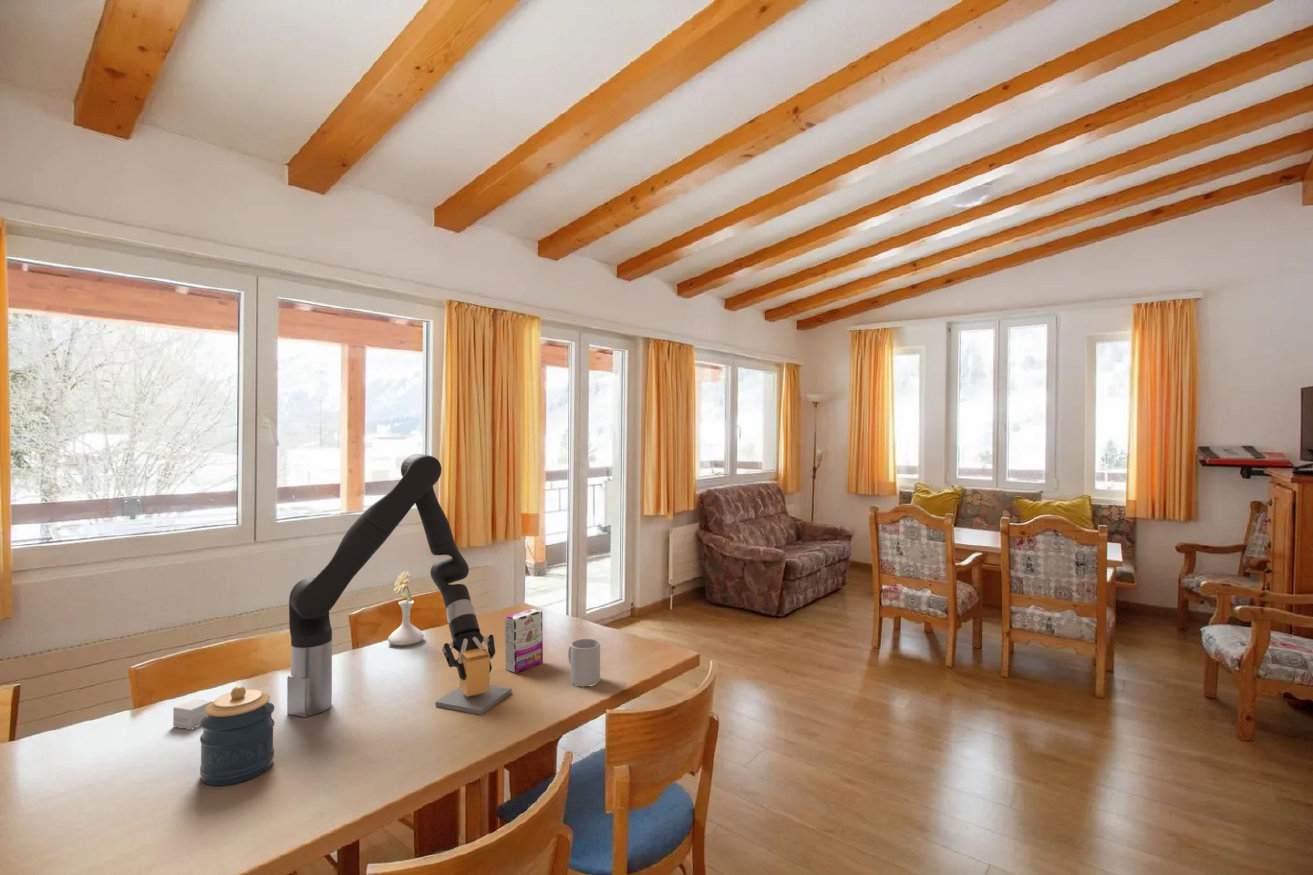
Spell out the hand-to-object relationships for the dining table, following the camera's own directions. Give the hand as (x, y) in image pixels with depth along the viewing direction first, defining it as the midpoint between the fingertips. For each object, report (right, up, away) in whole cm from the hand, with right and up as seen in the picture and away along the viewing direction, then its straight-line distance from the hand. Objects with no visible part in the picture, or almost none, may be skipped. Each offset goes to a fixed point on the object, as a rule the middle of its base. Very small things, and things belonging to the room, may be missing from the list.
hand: (476, 675), depth 163 cm
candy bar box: (+7, -7, +25) cm, 27 cm away
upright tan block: (-1, -4, +1) cm, 5 cm away
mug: (+26, -7, +15) cm, 31 cm away
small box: (-65, -7, -13) cm, 67 cm away
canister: (-41, -7, -34) cm, 53 cm away
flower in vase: (-37, -6, +44) cm, 58 cm away
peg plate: (-1, -7, +1) cm, 7 cm away
